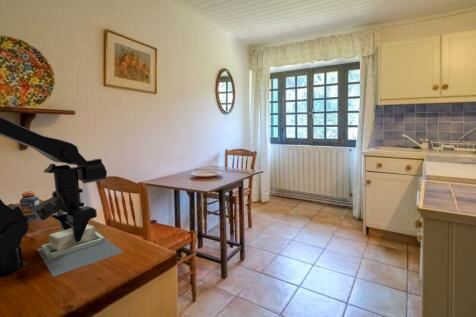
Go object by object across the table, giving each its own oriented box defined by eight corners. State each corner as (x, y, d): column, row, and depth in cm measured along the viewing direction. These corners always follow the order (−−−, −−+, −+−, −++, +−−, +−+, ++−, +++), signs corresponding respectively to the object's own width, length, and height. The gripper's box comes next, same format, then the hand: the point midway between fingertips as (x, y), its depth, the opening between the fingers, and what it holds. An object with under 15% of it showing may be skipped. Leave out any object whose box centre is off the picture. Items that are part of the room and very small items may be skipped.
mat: (124, 253, 72) (124, 252, 72) (53, 278, 61) (53, 276, 61) (97, 233, 88) (97, 232, 88) (37, 250, 77) (36, 249, 77)
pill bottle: (18, 222, 104) (14, 194, 102) (28, 217, 110) (25, 190, 108) (35, 221, 104) (31, 193, 103) (44, 216, 110) (40, 189, 109)
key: (26, 240, 87) (78, 227, 97) (25, 238, 87) (78, 225, 97) (24, 234, 91) (75, 222, 101) (24, 232, 91) (75, 220, 101)
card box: (58, 251, 72) (57, 238, 72) (50, 246, 75) (48, 234, 75) (96, 238, 80) (94, 226, 80) (87, 234, 84) (85, 223, 83)
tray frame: (105, 241, 80) (105, 238, 80) (48, 259, 70) (47, 255, 70) (95, 234, 86) (95, 230, 86) (41, 249, 76) (41, 245, 76)
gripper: (20, 189, 75) (28, 243, 77) (48, 196, 64) (55, 258, 66) (64, 182, 84) (70, 230, 86) (95, 187, 73) (100, 242, 75)
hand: (73, 239), depth 78 cm, fingers closed on card box, 5 cm apart
